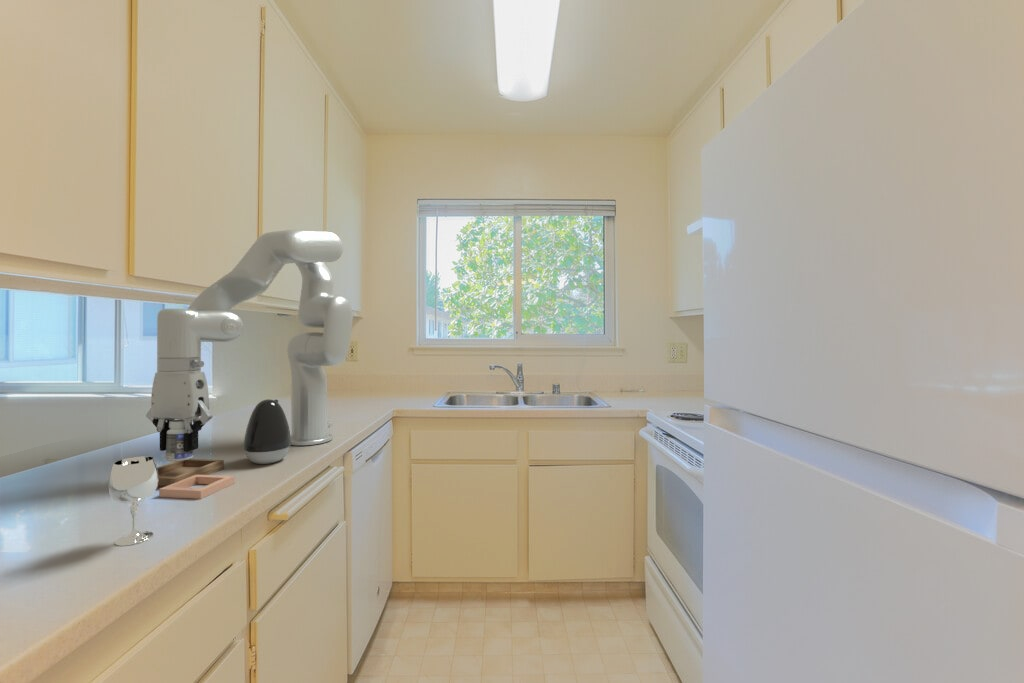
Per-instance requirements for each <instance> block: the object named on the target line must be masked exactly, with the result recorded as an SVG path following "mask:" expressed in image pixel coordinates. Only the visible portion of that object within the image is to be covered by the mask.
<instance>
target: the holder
mask: <svg viewBox="0 0 1024 683" xmlns="http://www.w3.org/2000/svg"><path fill="white" fill-rule="evenodd" d="M233 484H235V476H234V475H214V474H210V475H193V476H191V477H188V478H186V479H183V480H181V481H178V482H176V483H173V484H171V485H168V486H166V487H163V488H158V497H159V498H174V499H175V498H178V499H197V500H198V499H199V500H201V499H204V498H205V497H208V496H210V495H213V494H214V493H216V492H218V491H219V492H220V491H221V490H223V489H225V488H228V487H229V486H231V485H233ZM194 485H205V486H203V487H201V488H199V487H198V488H197V487H194V488H193V487H192V486H194ZM187 487H188V488H187Z"/></svg>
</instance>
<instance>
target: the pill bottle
mask: <svg viewBox="0 0 1024 683" xmlns="http://www.w3.org/2000/svg"><path fill="white" fill-rule="evenodd" d="M191 422H192V423H193V420H191ZM169 428H170V430H168V431H167V437H166V450H165V460H166V462H175V461H183V460H188V459H193V457H194V450H192V451H189V452H184V450H183V440H184V433H187V432H186V428H185V424H184V420H183V419H175V420H172V421H169Z"/></svg>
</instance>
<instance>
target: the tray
mask: <svg viewBox="0 0 1024 683" xmlns="http://www.w3.org/2000/svg"><path fill="white" fill-rule="evenodd" d="M224 469H225V460H224V459H206V458H205V459H204V458H203V459H202V458H191V459H188V460H183V461H171V462H170V463H166V464H163V465H161V466H157V470H158V475H159V482H158V487H157V489H161V488H163V487H166V486H168V485H171V484H173V483H176V482H178V481H181V480H183V479H186V478H188V477H191V476H193V475H213V474H214V473H216V472H219V471H221V470H224Z"/></svg>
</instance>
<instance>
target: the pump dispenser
mask: <svg viewBox="0 0 1024 683" xmlns="http://www.w3.org/2000/svg"><path fill="white" fill-rule="evenodd" d="M291 446H292V445H291V429H290V426H289V423H288V420H287V417H286V414H285V411H284V409H283V408H282V406H281V404H280V403H279V400H278V399H264V400H261V401H259V402H258V403H257V404H256V405H255V407H254V408H253V411H252V412H251V414H250V416H249V420H248V422H247V425H246V430H245V434H244V440H243V451H245V455H246V457H247V458H248V460H249V461H251V462H252V463H254V464H258V465H267V464H268V465H269V464H273V463H277V462H279V461H281V460H283V459H284V458H286V456H287V454H288V452H289V450H290V447H291Z"/></svg>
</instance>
